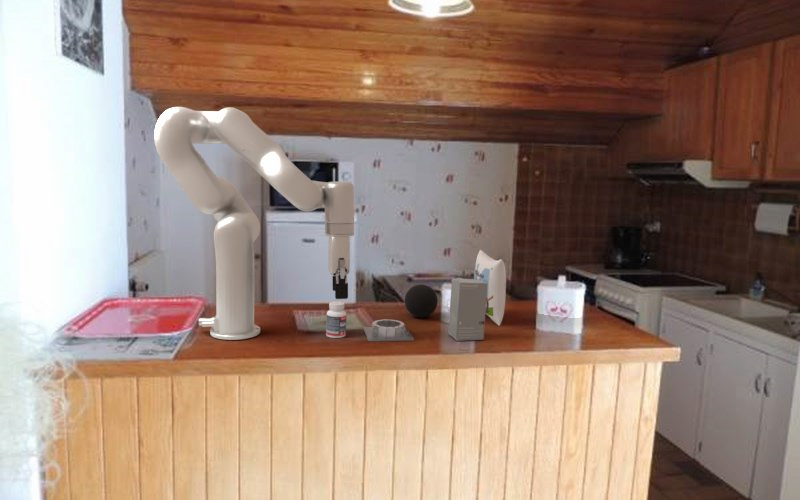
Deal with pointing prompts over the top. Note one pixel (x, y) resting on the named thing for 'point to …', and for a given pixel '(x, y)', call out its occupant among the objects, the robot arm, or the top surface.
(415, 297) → the speaker
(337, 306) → the pill bottle
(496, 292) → the pouch
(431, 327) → the top surface
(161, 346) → the top surface
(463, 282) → the skincare box
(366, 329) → the plate
